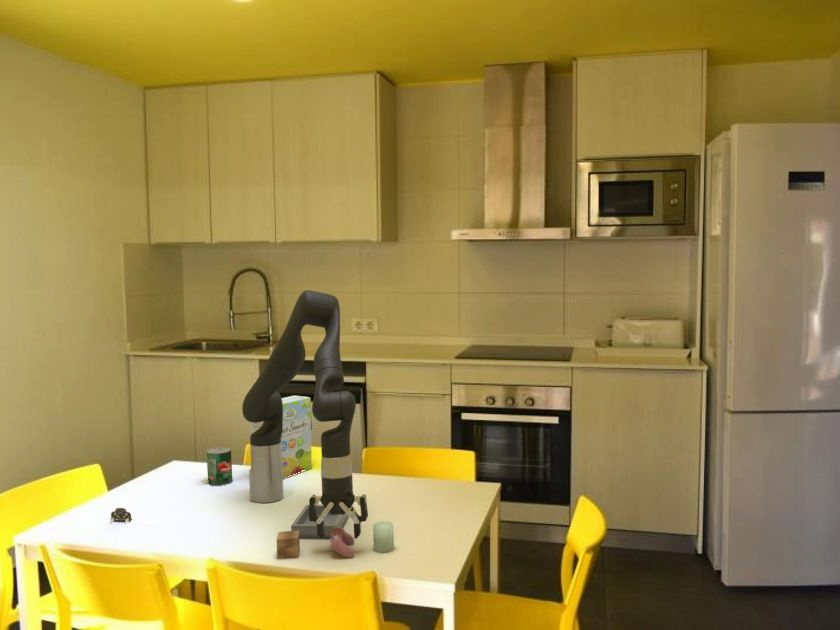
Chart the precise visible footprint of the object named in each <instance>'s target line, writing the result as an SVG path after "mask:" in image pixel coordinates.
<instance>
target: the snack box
mask: <svg viewBox="0 0 840 630" xmlns="http://www.w3.org/2000/svg"><path fill="white" fill-rule="evenodd" d="M281 398H282V403H283V431H282V436H281V449H282V474H283V478H285V477H287V478H289V477H288V476H290V475H293V474H296V473H298V472H301V471H302V470H307V471H309V470H312V469H313V467H312V466H313V465H312V461H313V460H312V405H311V404H312V403H311V402H312V400H311V397H309V396H305V395H304V396H303V395H302V396H301V395H290V396H287V397H286V396H285V397H281ZM263 422H264V421H263ZM263 422H257V423H253V422H249V424H250V433H249V434H250V436H251V434H252V433H254V432H255V431H257V430H258V429H259V428H260V427H261V426H262V424H263ZM296 475H297V474H296ZM293 476H294V475H293ZM290 477H291V476H290ZM285 479H286V478H285Z"/></svg>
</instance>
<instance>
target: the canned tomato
mask: <svg viewBox="0 0 840 630" xmlns="http://www.w3.org/2000/svg"><path fill="white" fill-rule="evenodd" d="M206 465H207V466H206V468H207V485H208V484H209V485H208V486H210V485H211V486H210V487H223V486H222V485H224V486H227V485H226V484H228V485H230V484H232V483H233V482H232V481H233V463H232V448H231V447H229V446H217V447H211V448H208V449H207V450H206ZM231 482H232V483H231ZM229 483H230V484H229Z"/></svg>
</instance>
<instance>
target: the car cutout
mask: <svg viewBox="0 0 840 630" xmlns="http://www.w3.org/2000/svg"><path fill="white" fill-rule="evenodd" d="M132 521H133V518H132V514H131V512H129V511H127V509H126V508H124V507H117V508H115V510H114V511H112V512H111V513H110V521H109V523H110V524H112V522H113V523H125V525H127V524H129V523H131V522H132ZM128 522H129V523H128ZM126 523H127V524H126Z"/></svg>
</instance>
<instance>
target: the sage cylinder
mask: <svg viewBox="0 0 840 630" xmlns="http://www.w3.org/2000/svg"><path fill="white" fill-rule="evenodd" d="M372 531H373V532H372V533H373V534H372V535H373V536H372V539H373V551H374V552H376V553H379V554H386V553H391V552H393V551H394V550H395V540H394V537H395V536H394V531H395V530H394V524H393V523H392V522H390V521H379V522H375V523H374V524H373V525H372Z"/></svg>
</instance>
